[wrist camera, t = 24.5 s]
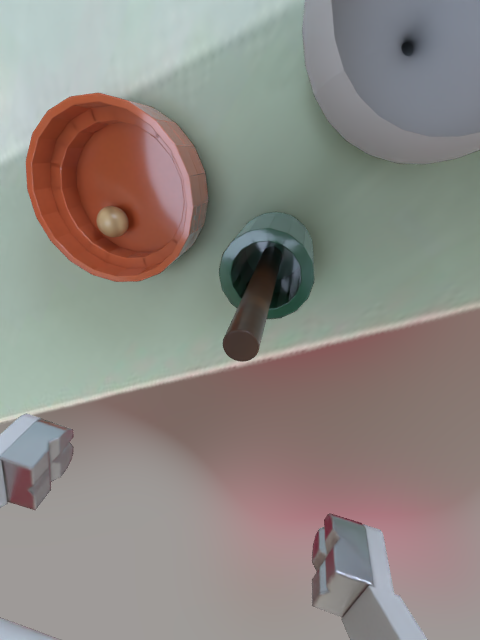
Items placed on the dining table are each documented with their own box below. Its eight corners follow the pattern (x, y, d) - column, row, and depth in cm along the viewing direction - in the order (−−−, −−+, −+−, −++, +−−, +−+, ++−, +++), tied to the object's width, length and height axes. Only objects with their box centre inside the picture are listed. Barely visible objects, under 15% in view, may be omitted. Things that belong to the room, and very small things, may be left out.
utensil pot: (323, 224, 33) (327, 244, 26) (299, 295, 36) (296, 330, 29) (247, 202, 33) (230, 217, 26) (230, 275, 37) (211, 304, 30)
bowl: (223, 125, 31) (207, 121, 26) (195, 281, 38) (178, 300, 33) (64, 83, 32) (20, 71, 27) (65, 243, 39) (31, 256, 34)
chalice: (340, 188, 31) (363, 217, 18) (276, 16, 27) (244, -113, 14) (519, 103, 26) (728, 56, 13) (477, -125, 22) (729, -537, 9)
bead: (104, 246, 34) (132, 240, 36) (104, 224, 32) (135, 218, 34) (91, 225, 35) (119, 219, 37) (90, 202, 33) (121, 197, 34)
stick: (284, 249, 34) (263, 336, 18) (278, 268, 35) (253, 366, 19) (265, 243, 34) (227, 325, 18) (259, 262, 35) (218, 355, 19)
